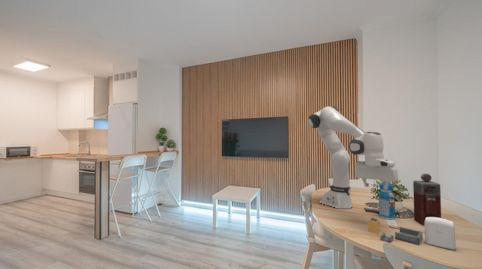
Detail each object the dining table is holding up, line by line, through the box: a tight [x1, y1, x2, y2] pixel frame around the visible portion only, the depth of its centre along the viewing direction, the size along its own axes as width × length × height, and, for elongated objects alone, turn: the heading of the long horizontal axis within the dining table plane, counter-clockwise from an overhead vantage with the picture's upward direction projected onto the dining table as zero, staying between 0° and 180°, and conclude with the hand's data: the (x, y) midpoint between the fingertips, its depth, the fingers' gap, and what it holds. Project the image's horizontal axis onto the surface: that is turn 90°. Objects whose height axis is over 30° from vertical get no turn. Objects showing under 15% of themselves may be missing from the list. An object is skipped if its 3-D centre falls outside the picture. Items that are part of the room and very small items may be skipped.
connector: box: [368, 217, 381, 235], centre depth 114 cm, size 4×4×7 cm
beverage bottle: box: [378, 183, 396, 220], centre depth 135 cm, size 8×8×20 cm
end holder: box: [394, 226, 424, 246], centre depth 106 cm, size 9×10×3 cm
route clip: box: [380, 232, 394, 244], centre depth 105 cm, size 4×5×2 cm
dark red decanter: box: [412, 173, 442, 227], centre depth 124 cm, size 9×11×28 cm
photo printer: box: [424, 217, 457, 251], centre depth 99 cm, size 10×4×12 cm, turn 47°
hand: (375, 187), depth 117 cm, fingers open, 8 cm apart
